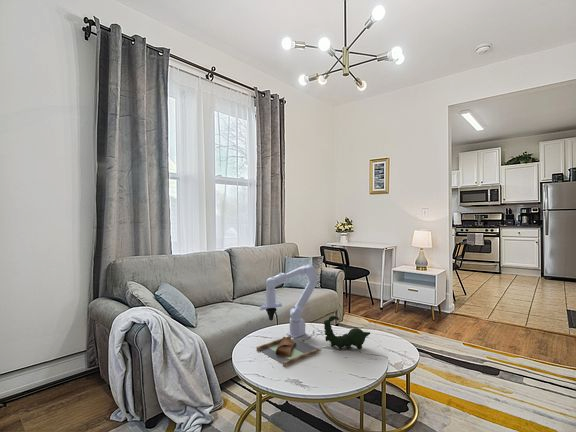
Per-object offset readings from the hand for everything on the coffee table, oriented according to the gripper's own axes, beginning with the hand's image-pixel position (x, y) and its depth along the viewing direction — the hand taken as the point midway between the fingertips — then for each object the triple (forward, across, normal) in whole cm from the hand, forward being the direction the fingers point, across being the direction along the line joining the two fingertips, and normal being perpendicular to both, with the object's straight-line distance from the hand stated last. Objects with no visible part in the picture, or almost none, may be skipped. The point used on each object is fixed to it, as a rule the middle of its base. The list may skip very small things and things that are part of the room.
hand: (271, 319), depth 197 cm
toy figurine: (+10, +26, -39) cm, 48 cm away
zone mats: (+9, -2, -24) cm, 26 cm away
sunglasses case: (+10, -3, -22) cm, 24 cm away
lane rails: (+9, -4, -25) cm, 27 cm away
